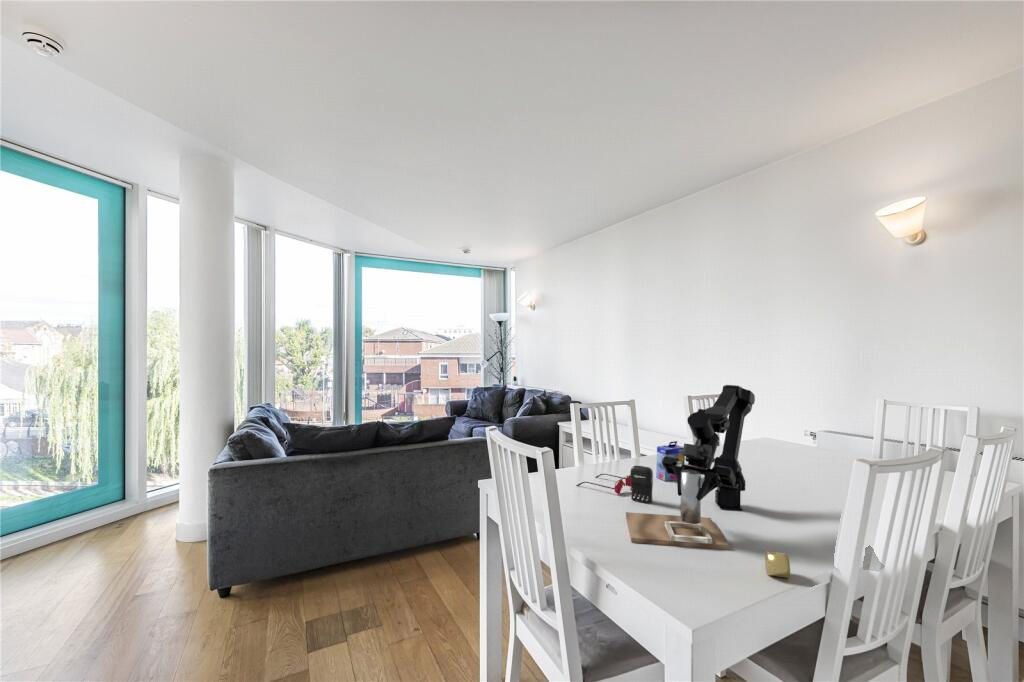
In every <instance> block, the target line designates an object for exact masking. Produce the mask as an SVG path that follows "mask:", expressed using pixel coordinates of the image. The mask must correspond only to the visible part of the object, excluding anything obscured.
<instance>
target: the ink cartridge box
mask: <svg viewBox="0 0 1024 682" xmlns="http://www.w3.org/2000/svg"><path fill="white" fill-rule="evenodd" d="M683 447H684V446H681V445H678V441H677V440H675V441H670V442H669V443H668V444H667V445H659V446H656V469H655V470H656V472H655V473H656V475H655V477H656V478H657V479H660V480H662V481H664V482H669V481H675V480H676V481H677V477H676V475H673V474H669V473H667V472H666V470H665V468H664V466H663V464H662V463H661V462H662V460H663V458H664V457H665V456H672V457H677V458H678V459H679V461H680V462H682V463H684V464H686V463H685V461H686V460H685V458H686V456H684V455H682V453H683Z"/></svg>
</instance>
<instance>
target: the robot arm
mask: <svg viewBox="0 0 1024 682" xmlns="http://www.w3.org/2000/svg"><path fill="white" fill-rule="evenodd" d="M755 397H756V395H755V393H753V391H751V390H750V389H746V388H743V387H742V386H740V385H734V384H733V385H732V384H725V385H723V386H722V391H721V392H720V394H719V396H718V397H717V399H716V400H715V402H714V404H713V405H712V406H711V407H707V408H705V409H701V408H698V410H697V411H694V412H692V413H691V414H690V415H688V417H687V420H686V421H687V424H688V426H689V428H690V430H691V434H693V435H692V436H693V437H694V438H696V440H695V443H694V444H690V443H684V444H683V446H682V447H683V453H682V455H684V456H685V461H686V462H687V463H685V464H684V463H682V462H680V461H679V459H678V458H677V457H672V456H665V457H664V458H663V460H662V462H661V463H662V464H663V466H664V468H665V470H666V472H667V473H669V474H673V475H676V477H677V480H676V483H677V484H676V485H677V495H678V496H679V497H681V471H682V470H694V471H698V472H700V473H701V476H702V475H703V481H702V483H701V484H702V485H701V489H700V491H699V494H698V501H700V500H701V501H702V499H703V498H705V497H706V496H707V495H708V494H710V493H711V492H712V491H715V492H714V502H715V504H716V505H717V506H718V507H719V509H720V510H731V511H743V507H742V506H741V497H742V496H741V494H742V493H741V492H743V491H746V480H745V478H744V475H743V472H742V466H741V464H740V461H739V460H738V458H739V453H740V447H741V441H742V434H743V427H744V423H745V417H746V416H747V415H749V414H750V413H751V412H752V408H753V405H754V404H755V400H756V398H755ZM718 434H725V435H724V441H723V446H722V453H721V454H720V455H719V456H716V457H715V454H716V452H717V448H718V447H719V446H720V437H719V435H718ZM712 464H713V466H712ZM711 467H712V468H711Z"/></svg>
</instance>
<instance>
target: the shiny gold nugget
mask: <svg viewBox="0 0 1024 682" xmlns="http://www.w3.org/2000/svg"><path fill="white" fill-rule="evenodd" d="M764 565H765V571H766V575H767V576H771V577H772V576H773V577H778V578H783V579H784V578H787V579H789V578H790V577H791V576H790V575H791V565H790V559H789V555H788V554H787V553H784V552H777V551H769V550H766V551H765V554H764Z"/></svg>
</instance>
